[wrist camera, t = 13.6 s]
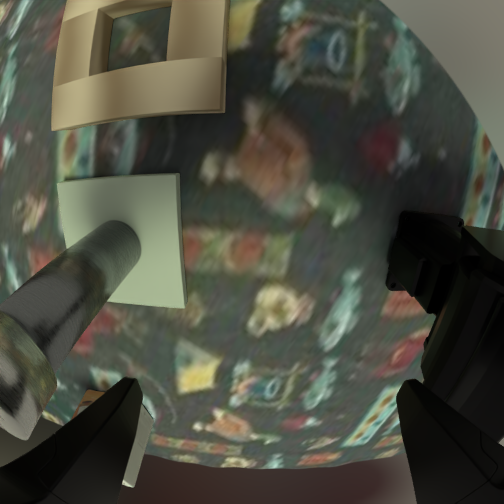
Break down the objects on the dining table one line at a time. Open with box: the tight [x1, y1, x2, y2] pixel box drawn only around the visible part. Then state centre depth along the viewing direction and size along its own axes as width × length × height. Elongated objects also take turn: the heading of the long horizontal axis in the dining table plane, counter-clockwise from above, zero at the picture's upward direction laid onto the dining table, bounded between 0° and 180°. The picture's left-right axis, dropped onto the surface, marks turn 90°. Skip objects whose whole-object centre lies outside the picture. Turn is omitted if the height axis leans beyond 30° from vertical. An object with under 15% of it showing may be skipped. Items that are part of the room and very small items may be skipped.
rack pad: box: [57, 173, 188, 309], centre depth 20 cm, size 10×10×1 cm
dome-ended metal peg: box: [0, 220, 141, 440], centre depth 12 cm, size 5×5×15 cm
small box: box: [71, 389, 154, 487], centre depth 24 cm, size 8×6×10 cm
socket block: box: [52, 0, 230, 131], centre depth 13 cm, size 12×12×2 cm
